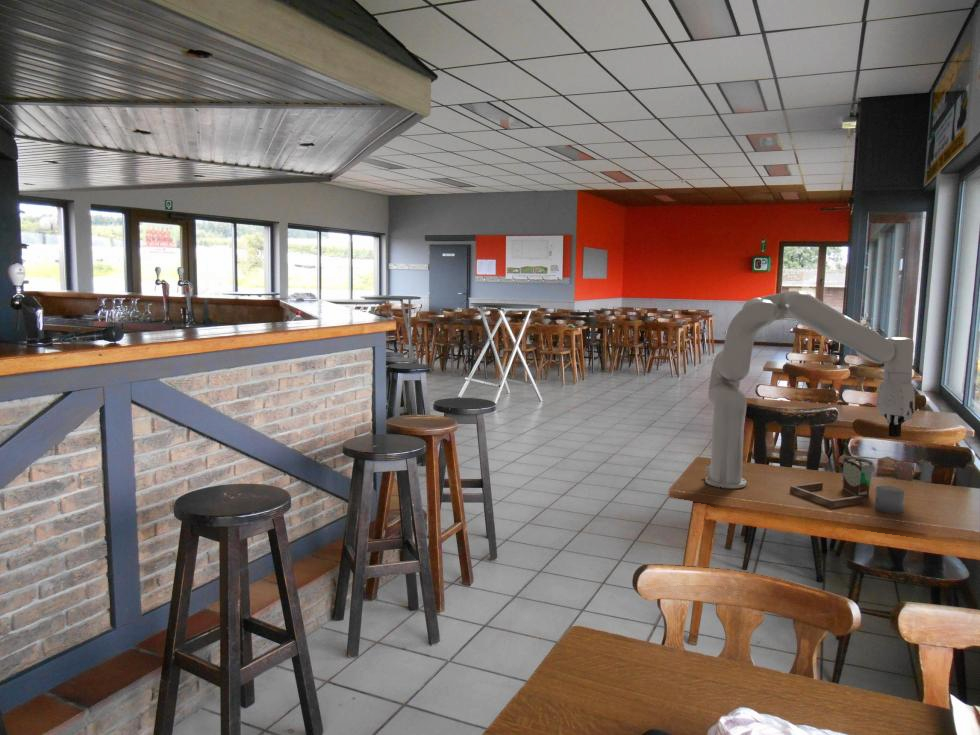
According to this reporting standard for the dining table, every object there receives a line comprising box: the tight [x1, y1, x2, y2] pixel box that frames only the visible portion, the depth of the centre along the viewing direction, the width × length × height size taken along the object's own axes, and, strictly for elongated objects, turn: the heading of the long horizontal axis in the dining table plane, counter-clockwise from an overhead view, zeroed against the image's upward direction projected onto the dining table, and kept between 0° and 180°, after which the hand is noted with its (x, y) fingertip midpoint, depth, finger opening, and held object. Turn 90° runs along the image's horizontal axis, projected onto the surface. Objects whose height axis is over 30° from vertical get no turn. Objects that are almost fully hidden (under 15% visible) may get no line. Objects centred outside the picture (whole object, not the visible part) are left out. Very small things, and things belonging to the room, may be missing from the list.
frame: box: [789, 481, 864, 509], centre depth 217 cm, size 16×12×2 cm
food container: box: [841, 455, 876, 498], centre depth 222 cm, size 12×6×10 cm, turn 0°
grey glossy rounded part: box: [874, 485, 905, 515], centre depth 206 cm, size 7×7×6 cm
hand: (894, 436), depth 225 cm, fingers closed
